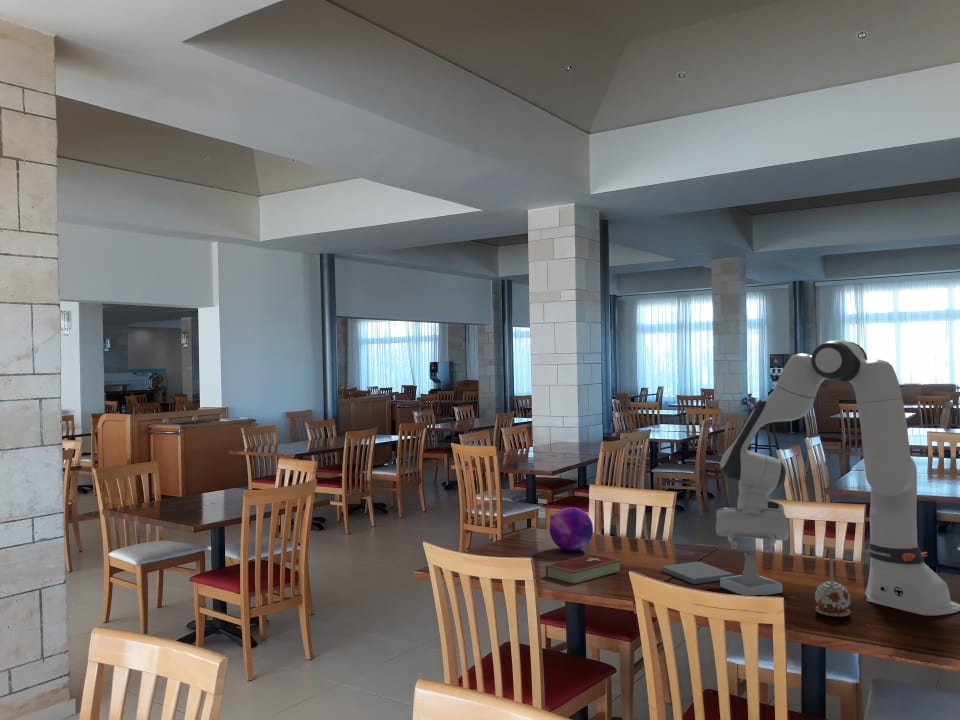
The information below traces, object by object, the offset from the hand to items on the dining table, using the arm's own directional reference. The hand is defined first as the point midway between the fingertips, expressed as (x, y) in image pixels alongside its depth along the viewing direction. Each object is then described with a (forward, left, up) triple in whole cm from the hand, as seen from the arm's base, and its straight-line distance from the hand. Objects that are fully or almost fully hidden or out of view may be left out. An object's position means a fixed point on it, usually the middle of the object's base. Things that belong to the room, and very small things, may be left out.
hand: (750, 549), depth 216 cm
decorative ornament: (-29, 0, -10) cm, 31 cm away
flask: (-4, +4, -10) cm, 12 cm away
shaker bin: (-4, +4, -10) cm, 11 cm away
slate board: (+15, +8, -10) cm, 20 cm away
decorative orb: (+59, +27, -10) cm, 66 cm away
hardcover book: (+31, +38, -11) cm, 50 cm away
